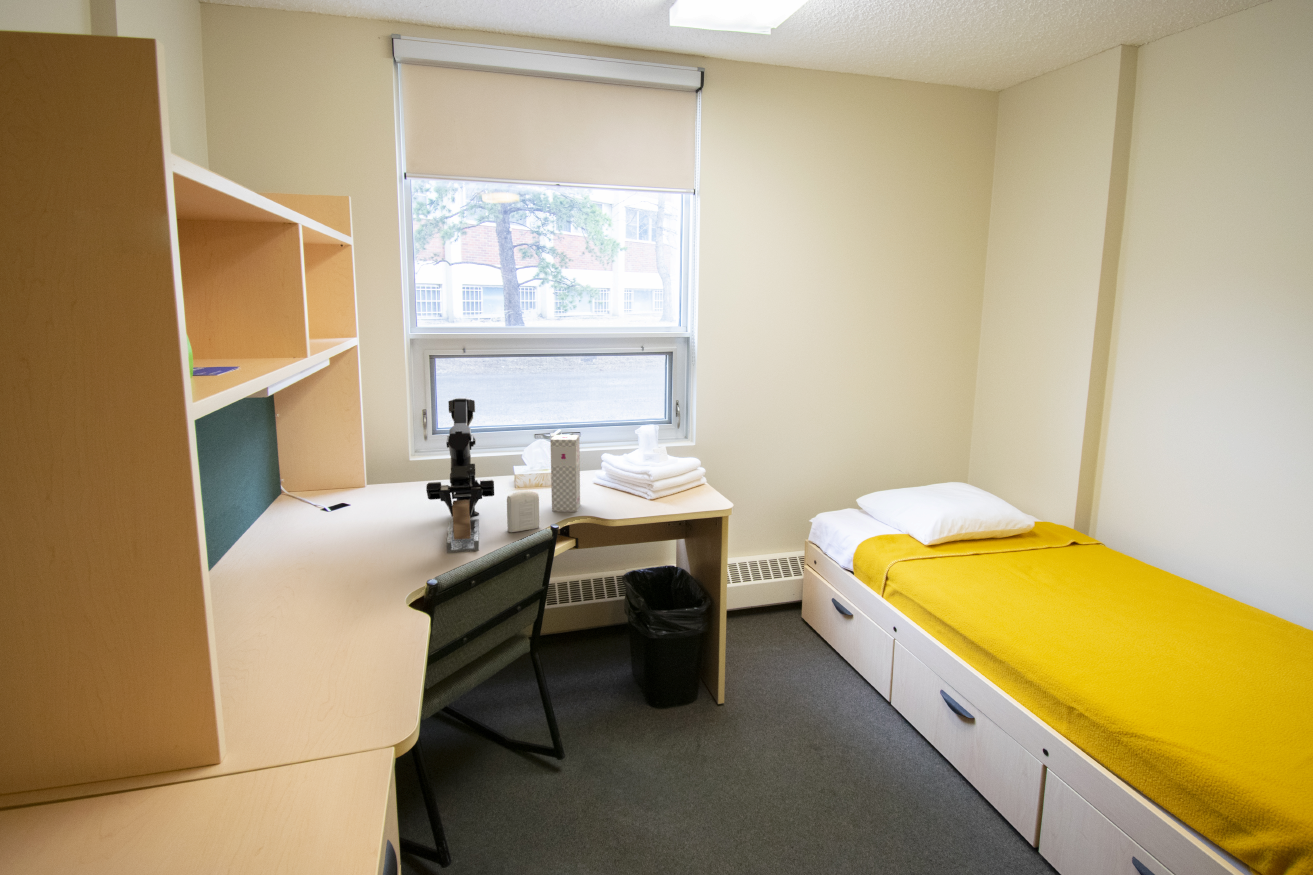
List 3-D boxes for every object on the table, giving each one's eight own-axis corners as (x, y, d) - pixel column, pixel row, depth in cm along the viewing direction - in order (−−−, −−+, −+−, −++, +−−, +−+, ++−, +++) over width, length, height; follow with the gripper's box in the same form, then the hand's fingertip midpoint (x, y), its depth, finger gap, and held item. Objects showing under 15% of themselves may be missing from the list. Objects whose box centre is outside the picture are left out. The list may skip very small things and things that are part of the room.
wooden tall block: (470, 532, 199) (469, 499, 197) (470, 538, 194) (468, 504, 192) (454, 533, 198) (453, 500, 196) (454, 539, 193) (452, 505, 191)
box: (576, 511, 233) (575, 439, 228) (551, 511, 233) (550, 439, 228) (580, 504, 241) (579, 435, 236) (556, 503, 241) (555, 434, 236)
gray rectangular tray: (450, 530, 213) (450, 520, 212) (479, 528, 215) (478, 519, 215) (447, 552, 194) (446, 542, 193) (478, 550, 196) (478, 540, 196)
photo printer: (536, 524, 219) (535, 487, 217) (541, 528, 216) (540, 490, 213) (505, 530, 214) (504, 492, 211) (510, 534, 210) (509, 495, 208)
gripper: (424, 455, 193) (423, 504, 185) (492, 452, 198) (494, 500, 189) (428, 475, 202) (427, 522, 194) (493, 472, 207) (495, 518, 198)
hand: (461, 515), depth 194 cm, fingers closed on wooden tall block, 4 cm apart
